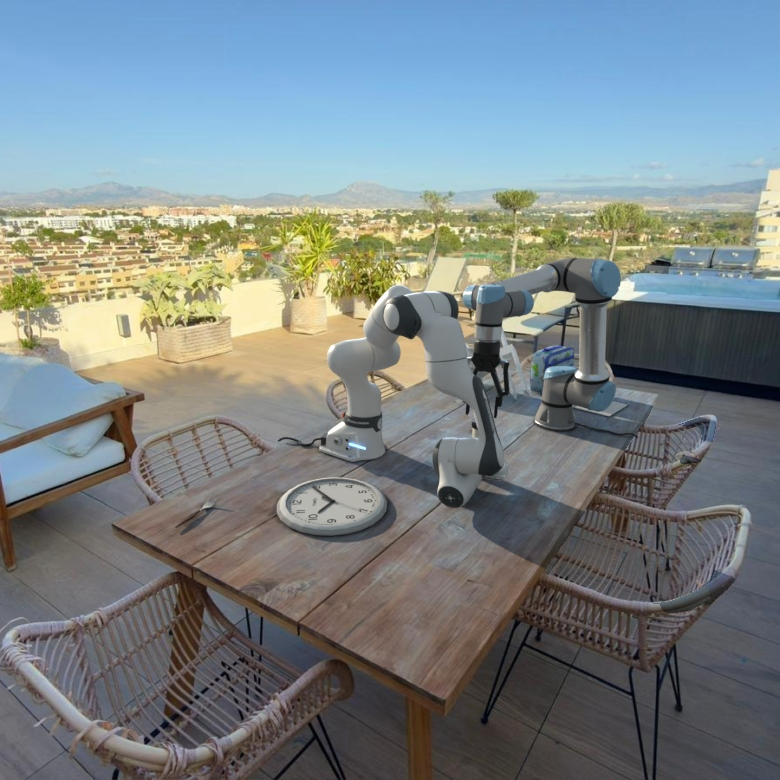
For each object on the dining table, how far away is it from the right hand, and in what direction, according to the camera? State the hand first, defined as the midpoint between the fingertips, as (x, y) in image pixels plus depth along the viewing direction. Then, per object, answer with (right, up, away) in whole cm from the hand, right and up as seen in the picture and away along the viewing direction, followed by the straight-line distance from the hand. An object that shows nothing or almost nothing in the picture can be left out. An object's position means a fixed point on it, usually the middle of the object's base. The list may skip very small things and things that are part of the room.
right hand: (481, 414), depth 156 cm
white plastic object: (+14, +6, +87) cm, 88 cm away
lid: (0, -2, +1) cm, 2 cm away
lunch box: (+49, +7, +92) cm, 104 cm away
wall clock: (-43, -24, -13) cm, 51 cm away
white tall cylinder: (0, -19, +6) cm, 20 cm away
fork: (-78, -25, -19) cm, 84 cm away
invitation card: (+64, 0, +70) cm, 95 cm away
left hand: (0, -13, +5) cm, 14 cm away
